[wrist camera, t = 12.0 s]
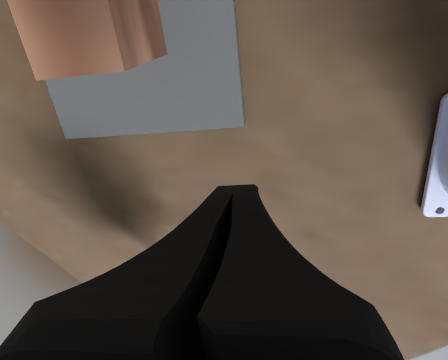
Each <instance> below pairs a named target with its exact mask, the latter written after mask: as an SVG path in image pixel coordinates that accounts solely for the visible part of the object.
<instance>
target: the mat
mask: <svg viewBox="0 0 448 360" xmlns="http://www.w3.org/2000/svg"><path fill="white" fill-rule="evenodd" d="M158 5H159V11H160V16H161V22H162V27H163V33H164V39H165V44H166V50H167V55H164V56H162V57H159V58H157V59H154V60H152V61H149V62H147V63H144V64H142V65H139V66H137V67H134V68H132V69H129V70H127V71H123V72H113V73H104V74H94V75H85V76H75V77H65V78H56V79H46V80H45V82H46V84H47V87H48V90H49V93H50V96H51V99H52V102H53V104H54V107H55V110H56V113H57V116H58V119H59V122H60V124H61V127H62V130H63V133H64V136H65V139H77V138H92V137H106V136H120V135H135V134H149V133H164V132H178V131H193V130H207V129H222V128H236V127H244V126H245V114H244V102H243V91H242V79H241V67H240V56H239V44H238V33H237V21H236V9H235V0H158Z"/></svg>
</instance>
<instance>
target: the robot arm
mask: <svg viewBox="0 0 448 360" xmlns="http://www.w3.org/2000/svg"><path fill="white" fill-rule="evenodd" d="M439 207H442V208H441V209H440V210H438V211H436V209H437V208H439ZM421 212H422V213H423V214H424V215H425V216H426V217H448V93H447V94H446V95H444V96H443V98H442V99H441V102H440V108H439V113H438V118H437V124H436V129H435V135H434V140H433V145H432V151H431V156H430V161H429V167H428V172H427V178H426V183H425V188H424V194H423V199H422V204H421ZM0 360H404V359H403V356H402V354H401V352H400V350H399V348H398V346H397V344H396V342H395V341H394V339H393V337H392V335H391V333H390V332H389V330H388V328H387V326H386V325H385V323H384V321H383V320H382V318H381V317H380V315H379V313H378V312H377V310H376V309H375V307H374V306H373V305H372V304H371V303H369V302H367V301H366V300H364V299H362V298H361V297H359V296H357V295H356V294H354V293H352V292H350V291H349V290H347V289H345V288H344V287H342V286H340V285H339V284H337V283H336V282H334V281H333V280H331V279H330V278H329V277H327V276H326V275H324V274H323V273H322V272H321V271H319V270H318V269H317V268H316V267H315V266H313V265H312V264H311V263H310V262H309V261H307V260H306V259H305V258H304V257H303V256H302V255H301V254H300V253H299V252H298V251H297V250H296V249H295V248H294V247H293V246H292V245H291V244H290V243H289V241H288V240H287V239H286V238H285V237H284V236H283V234H282V233H281V232H280V231H279V229H278V228H277V226H276V225H275V224H274V222H273V221H272V219H271V218H270V216H269V214H268V212H267V211H266V209H265V207H264V205H263V203H262V201H261V199H260V196H259V193H258V187H257V186H256V185H255V184H252V185H231V186H218V187H217V188H216V189H215V190H214V191H213V192H212V193H211V194H210V195H209V196H208V197H207V198H206V199H205V201H204V202H203V203H202V204H201V205H200V206H199V207H198V208H197V209H196V210H195V211H194V212H193V213H192V214H191V215H190V216H188V217H187V218H186V219H185V220H184V221H183V222H182V223H181V224H179V225H178V226H177V227H176V228H175V229H174V230H173V231H171V232H170V233H169V234H168V235H166V236H165V237H164V238H162V239H161V240H159V241H158V242H157V243H155V244H154V245H152V246H151V247H149V248H148V249H146V250H145V251H143V252H141V253H140V254H138V255H136V256H135V257H133V258H131V259H130V260H128V261H126V262H125V263H123V264H121V265H119V266H118V267H116V268H114V269H112V270H110V271H108V272H106V273H104V274H102V275H100V276H98V277H95V278H93V279H91V280H89V281H87V282H85V283H82V284H80V285H78V286H75V287H73V288H70V289H68V290H65V291H63V292H60V293H58V294H55V295H53V296H50V297H47V298H45V299H42V300H39V301H37V302H35V303H34V304H33V305H32V306H31V308H30V309H29V310H28V311H27V313H26V314H25V315H24V316H23V318H22V319H21V320H20V322H19V323H18V324H17V325H16V327H15V328H14V329H13V331H12V332H11V333H10V334H9V336H8V337H7V338H6V339H5V340H4V342H3V343H2V344H1V346H0Z"/></svg>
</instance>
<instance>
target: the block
mask: <svg viewBox="0 0 448 360" xmlns="http://www.w3.org/2000/svg"><path fill="white" fill-rule="evenodd" d="M7 1H8V4H9V7H10V10H11V12H12V15H13V18H14V21H15V23H16V26H17V29H18V32H19V34H20V37H21V40H22V43H23V46H24V48H25V51H26V54H27V57H28V59H29V62H30V65H31V68H32V70H33V73H34V76H35V79H36V80H46V79H56V78H65V77H75V76H85V75H94V74H104V73H113V72H123V71H127V70H129V69H132V68H134V67H137V66H139V65H142V64H144V63H147V62H149V61H152V60H154V59H157V58H159V57H162V56H164V55H167V50H166V44H165V39H164V33H163V27H162V22H161V16H160V11H159V5H158V0H7Z"/></svg>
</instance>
